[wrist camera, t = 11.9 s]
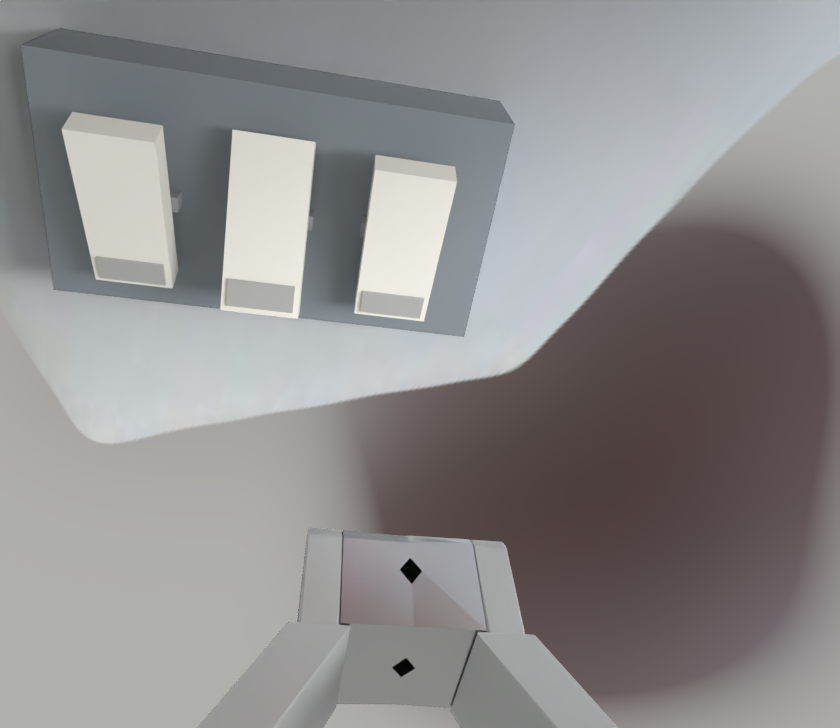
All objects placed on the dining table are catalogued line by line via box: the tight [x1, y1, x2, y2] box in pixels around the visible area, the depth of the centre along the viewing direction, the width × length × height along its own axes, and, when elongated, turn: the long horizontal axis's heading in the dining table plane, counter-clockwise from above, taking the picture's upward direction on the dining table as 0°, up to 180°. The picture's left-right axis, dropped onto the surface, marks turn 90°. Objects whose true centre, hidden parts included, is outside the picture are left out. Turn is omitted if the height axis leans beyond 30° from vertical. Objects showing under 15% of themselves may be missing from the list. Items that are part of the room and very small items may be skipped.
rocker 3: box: [354, 155, 457, 322], centre depth 37 cm, size 4×9×2 cm, turn 170°
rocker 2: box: [220, 129, 316, 319], centre depth 36 cm, size 4×9×2 cm, turn 171°
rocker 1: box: [62, 112, 178, 288], centre depth 35 cm, size 4×9×2 cm, turn 170°
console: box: [21, 28, 515, 337], centre depth 39 cm, size 24×13×6 cm, turn 80°
